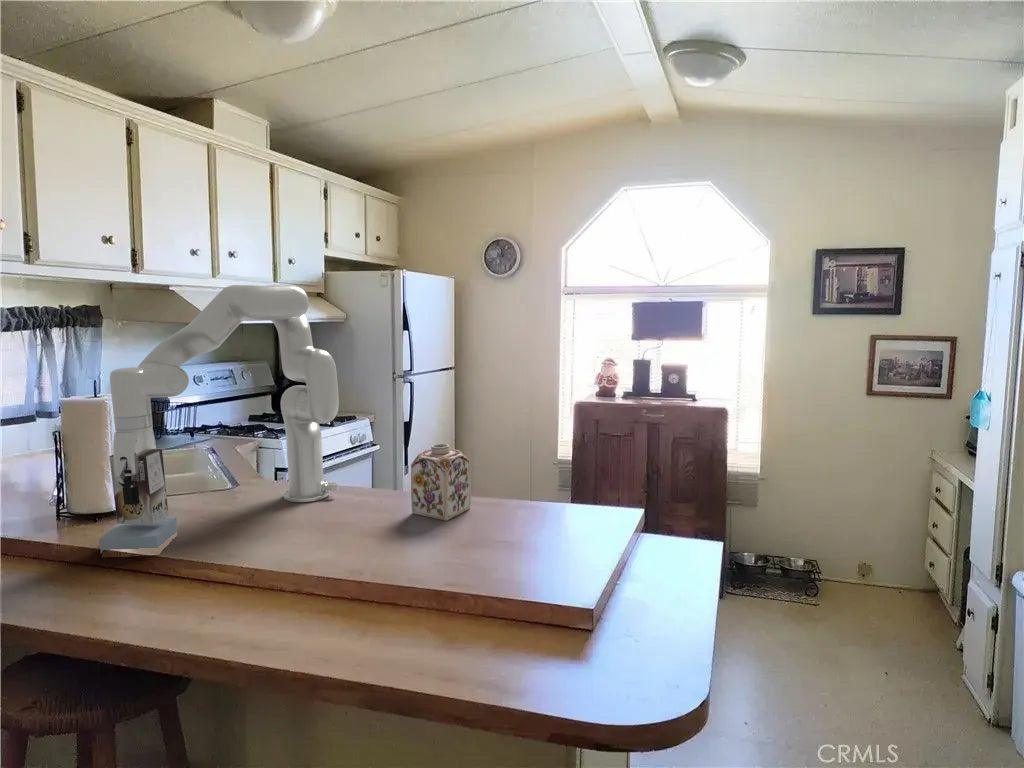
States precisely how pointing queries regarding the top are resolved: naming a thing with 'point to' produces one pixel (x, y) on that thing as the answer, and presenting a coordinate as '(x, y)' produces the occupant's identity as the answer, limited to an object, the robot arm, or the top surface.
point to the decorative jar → (440, 483)
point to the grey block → (138, 535)
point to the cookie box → (143, 491)
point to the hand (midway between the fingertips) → (141, 498)
